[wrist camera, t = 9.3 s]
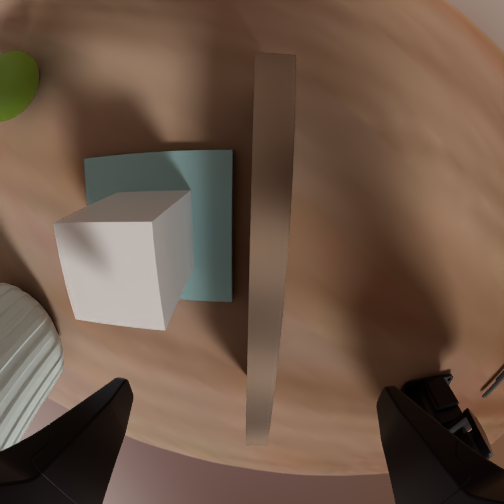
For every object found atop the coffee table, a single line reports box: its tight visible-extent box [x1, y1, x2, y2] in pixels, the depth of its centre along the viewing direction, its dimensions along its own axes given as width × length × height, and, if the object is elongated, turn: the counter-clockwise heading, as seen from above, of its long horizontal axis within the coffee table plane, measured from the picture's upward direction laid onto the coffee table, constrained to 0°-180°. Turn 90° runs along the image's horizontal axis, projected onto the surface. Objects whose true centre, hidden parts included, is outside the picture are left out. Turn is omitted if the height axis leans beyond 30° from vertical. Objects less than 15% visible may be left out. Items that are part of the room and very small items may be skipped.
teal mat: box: [84, 150, 233, 302], centre depth 18 cm, size 10×10×1 cm
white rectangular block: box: [53, 190, 194, 330], centre depth 15 cm, size 5×5×7 cm
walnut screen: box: [246, 53, 296, 445], centre depth 16 cm, size 22×2×7 cm, turn 179°
